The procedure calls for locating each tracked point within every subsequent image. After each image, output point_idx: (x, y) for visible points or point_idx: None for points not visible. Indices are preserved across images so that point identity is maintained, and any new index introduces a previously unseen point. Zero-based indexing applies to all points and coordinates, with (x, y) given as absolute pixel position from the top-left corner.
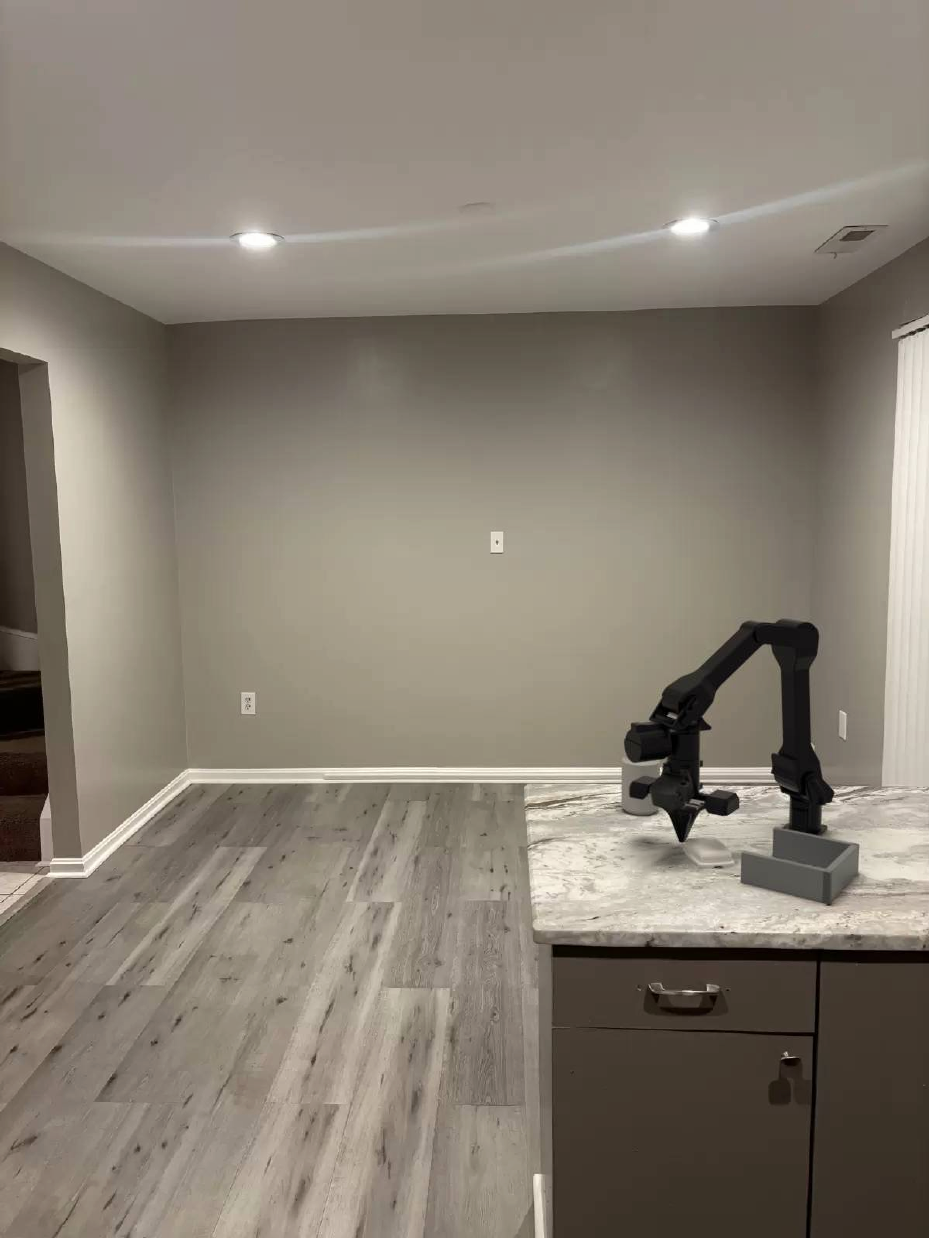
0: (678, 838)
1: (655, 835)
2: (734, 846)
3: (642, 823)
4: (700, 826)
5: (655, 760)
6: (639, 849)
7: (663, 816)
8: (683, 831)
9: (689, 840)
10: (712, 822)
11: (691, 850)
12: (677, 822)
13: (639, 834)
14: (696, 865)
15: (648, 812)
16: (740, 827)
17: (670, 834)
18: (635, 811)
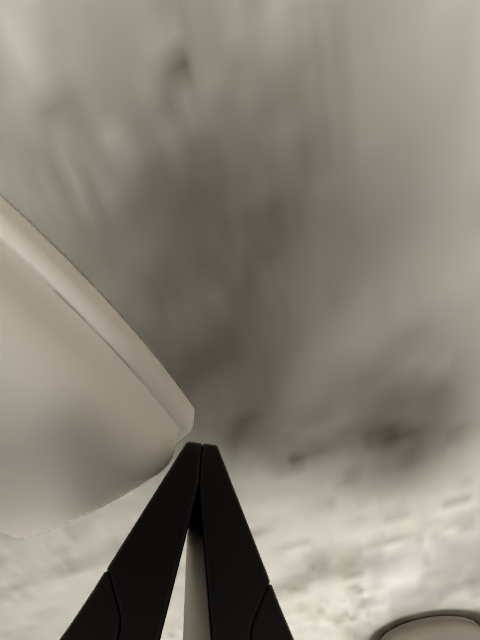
0: (216, 462)
1: (362, 509)
2: None
3: (421, 575)
4: None
5: None
6: (440, 334)
7: (348, 627)
8: (159, 518)
9: (131, 456)
10: None
11: (89, 355)
12: (212, 625)
13: (435, 497)
14: (20, 214)
15: (407, 637)
16: None
17: (300, 534)
18: (458, 632)
